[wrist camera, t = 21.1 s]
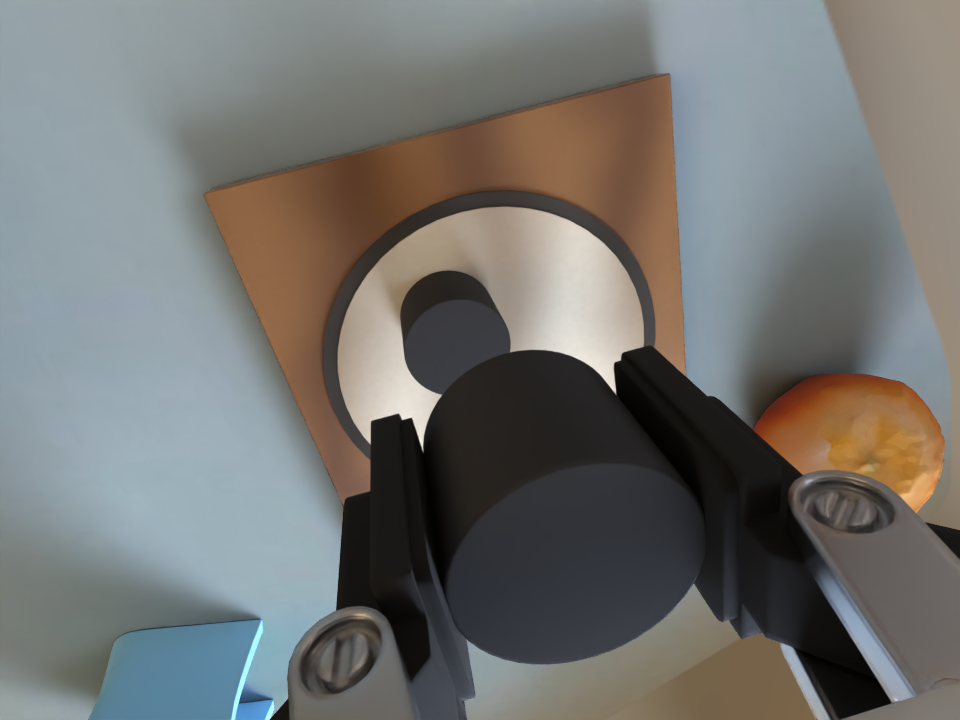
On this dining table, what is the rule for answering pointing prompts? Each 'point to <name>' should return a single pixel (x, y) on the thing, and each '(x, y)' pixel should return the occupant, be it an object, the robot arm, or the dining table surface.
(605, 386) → the dot
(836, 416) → the fruit
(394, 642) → the robot arm
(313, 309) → the board
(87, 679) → the dining table surface
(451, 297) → the dot
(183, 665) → the vase
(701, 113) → the dining table surface
